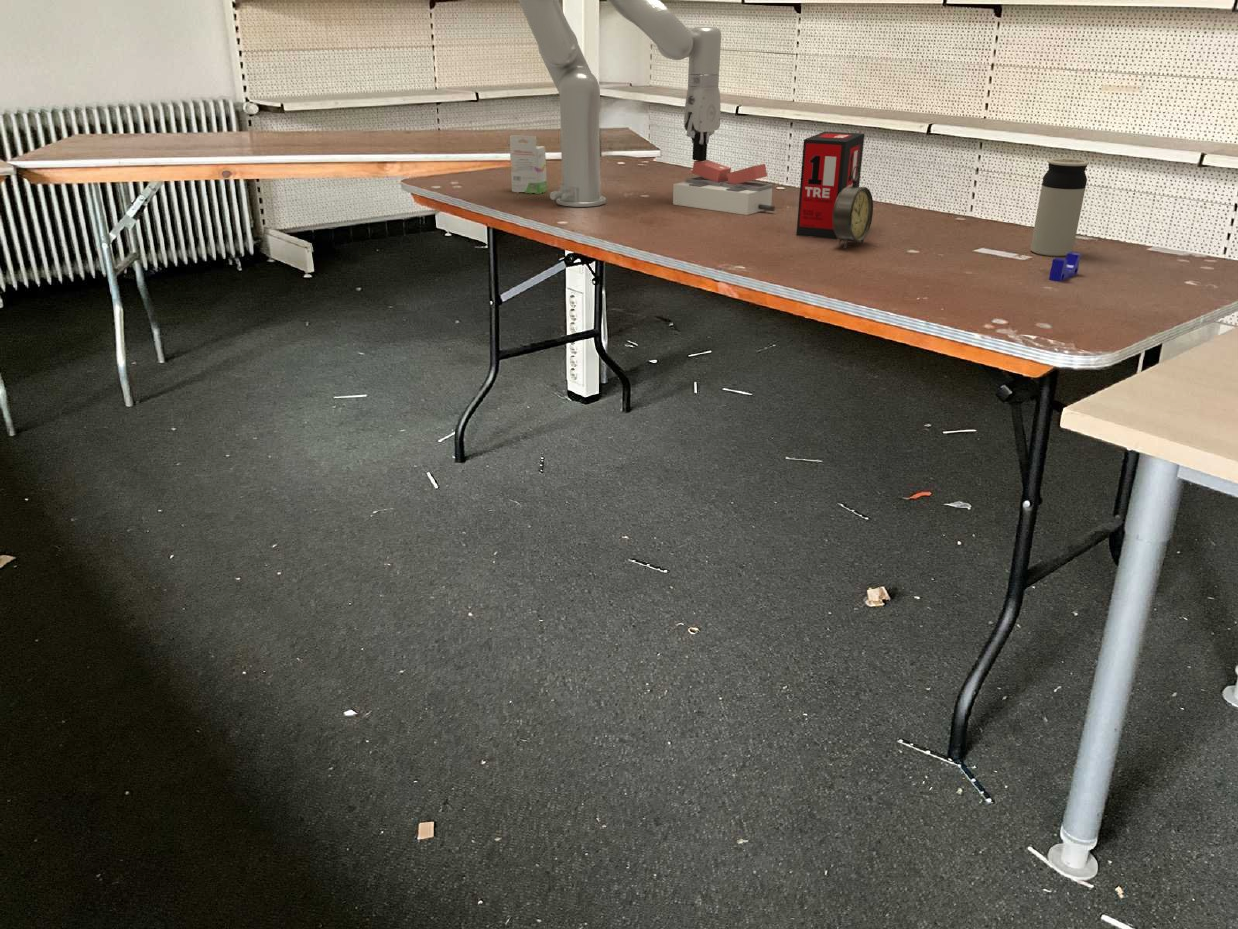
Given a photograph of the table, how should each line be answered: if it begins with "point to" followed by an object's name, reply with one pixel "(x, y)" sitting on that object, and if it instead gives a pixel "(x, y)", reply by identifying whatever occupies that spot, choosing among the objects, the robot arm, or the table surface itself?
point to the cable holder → (1065, 267)
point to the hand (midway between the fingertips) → (699, 159)
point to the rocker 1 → (711, 170)
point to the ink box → (527, 165)
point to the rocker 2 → (747, 174)
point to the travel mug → (1059, 207)
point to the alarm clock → (853, 213)
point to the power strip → (724, 196)
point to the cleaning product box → (826, 179)
